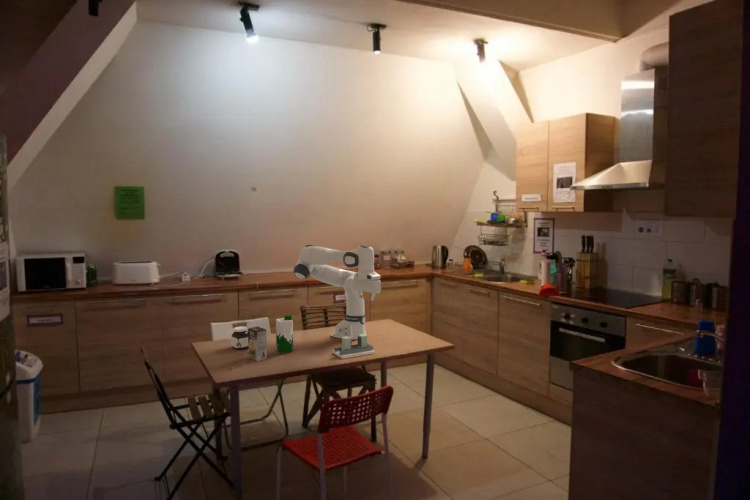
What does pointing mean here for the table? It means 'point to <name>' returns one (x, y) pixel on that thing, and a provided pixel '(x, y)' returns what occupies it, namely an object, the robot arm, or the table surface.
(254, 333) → the coffee box
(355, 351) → the board
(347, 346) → the block
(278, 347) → the milk carton
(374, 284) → the robot arm
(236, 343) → the spread jar
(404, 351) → the table surface
